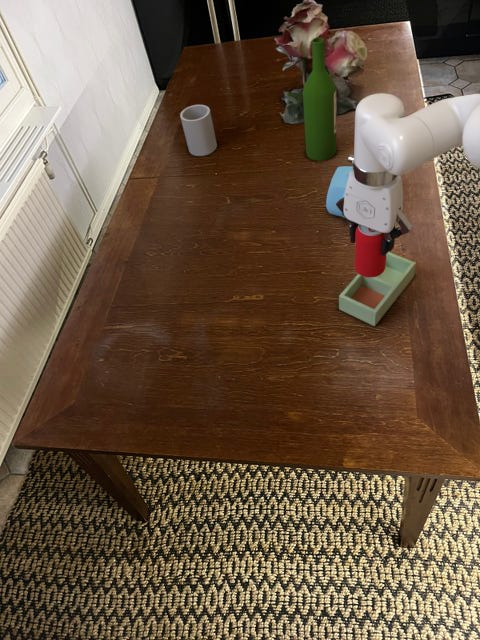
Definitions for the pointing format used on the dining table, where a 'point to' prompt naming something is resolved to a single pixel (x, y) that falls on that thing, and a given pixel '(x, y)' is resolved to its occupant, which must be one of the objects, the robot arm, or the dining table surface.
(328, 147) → the wine bottle
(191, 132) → the cup
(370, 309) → the can holder
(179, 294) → the dining table surface
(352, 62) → the rose bouquet
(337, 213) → the teapot
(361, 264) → the beverage can
